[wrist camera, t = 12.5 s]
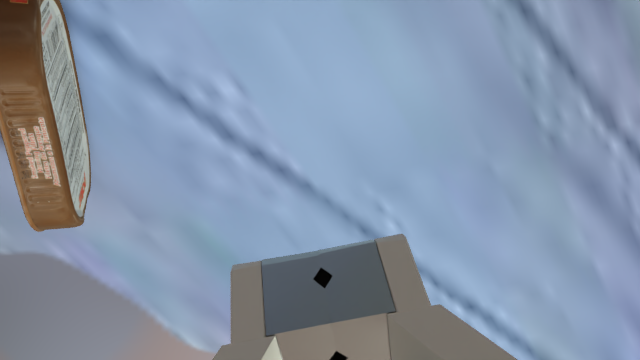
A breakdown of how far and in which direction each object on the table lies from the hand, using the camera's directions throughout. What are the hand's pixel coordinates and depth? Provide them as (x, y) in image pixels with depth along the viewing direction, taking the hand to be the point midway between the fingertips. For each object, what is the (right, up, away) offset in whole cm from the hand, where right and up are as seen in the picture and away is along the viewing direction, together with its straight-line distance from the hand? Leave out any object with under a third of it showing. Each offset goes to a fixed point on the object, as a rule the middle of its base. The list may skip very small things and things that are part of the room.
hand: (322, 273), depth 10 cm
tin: (-17, +8, +26) cm, 32 cm away
